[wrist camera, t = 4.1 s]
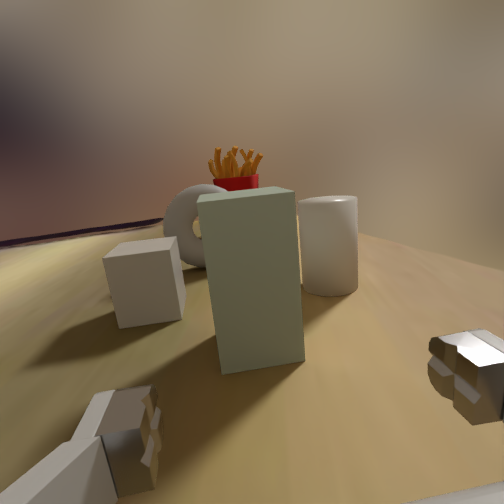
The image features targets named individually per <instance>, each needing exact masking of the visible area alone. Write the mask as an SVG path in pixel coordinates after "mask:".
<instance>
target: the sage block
mask: <svg viewBox="0 0 504 504" xmlns="http://www.w3.org/2000/svg"><path fill="white" fill-rule="evenodd" d="M196 203H197V210H198V216H199V223H200V230H201V237H202V244H203V251H204V257H205V264H206V271H207V278H208V285H209V292H210V298H211V305H212V312H213V319H214V326H215V333H216V339H217V346H218V353H219V360H220V367H221V374H222V375H224V374H230V373H236V372H242V371H248V370H254V369H260V368H266V367H272V366H278V365H284V364H290V363H296V362H302V361H305V348H304V332H303V316H302V300H301V284H300V268H299V252H298V236H297V220H296V205H295V192H294V191H291V190H287V189H283V188H279V187H276V186H275V187H266V188H256V189H247V190H238V191H229V192H220V193H211V194H202V195H200V196H199V198H198V200H197V202H196Z"/></svg>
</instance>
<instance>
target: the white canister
mask: <svg viewBox="0 0 504 504" xmlns="http://www.w3.org/2000/svg"><path fill="white" fill-rule="evenodd" d="M298 216H299V232H300V249H301V265H302V282H303V289H304V290H305V291H307V292H308V293H311V294H314V295H318V296H328V297H333V296H342V295H347V294H350V293H352V292H354V291H355V290H357V288H358V232H357V197H355V196H324V197H315V198H308V199H303V200H300V201H298Z"/></svg>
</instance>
